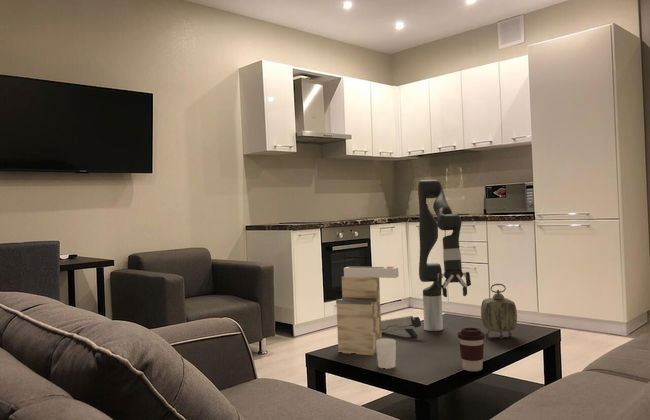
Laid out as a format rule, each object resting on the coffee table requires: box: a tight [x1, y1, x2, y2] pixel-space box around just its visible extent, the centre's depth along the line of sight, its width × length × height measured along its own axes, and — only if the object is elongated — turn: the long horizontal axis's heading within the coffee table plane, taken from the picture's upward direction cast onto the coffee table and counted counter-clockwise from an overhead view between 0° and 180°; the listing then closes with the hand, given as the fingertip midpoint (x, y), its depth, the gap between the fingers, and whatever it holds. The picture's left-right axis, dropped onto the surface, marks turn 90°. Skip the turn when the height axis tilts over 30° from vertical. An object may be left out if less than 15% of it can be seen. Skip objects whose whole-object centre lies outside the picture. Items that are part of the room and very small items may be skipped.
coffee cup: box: [457, 327, 486, 372], centre depth 201 cm, size 10×10×15 cm
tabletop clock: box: [480, 283, 518, 340], centre depth 246 cm, size 14×9×25 cm, turn 88°
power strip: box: [343, 266, 399, 279], centre depth 234 cm, size 4×24×4 cm, turn 66°
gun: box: [381, 315, 422, 338], centre depth 258 cm, size 2×25×10 cm, turn 53°
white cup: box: [376, 338, 397, 370], centre depth 209 cm, size 8×8×10 cm
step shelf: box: [335, 275, 383, 356], centre depth 233 cm, size 12×16×32 cm
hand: (455, 296), depth 232 cm, fingers open, 8 cm apart
